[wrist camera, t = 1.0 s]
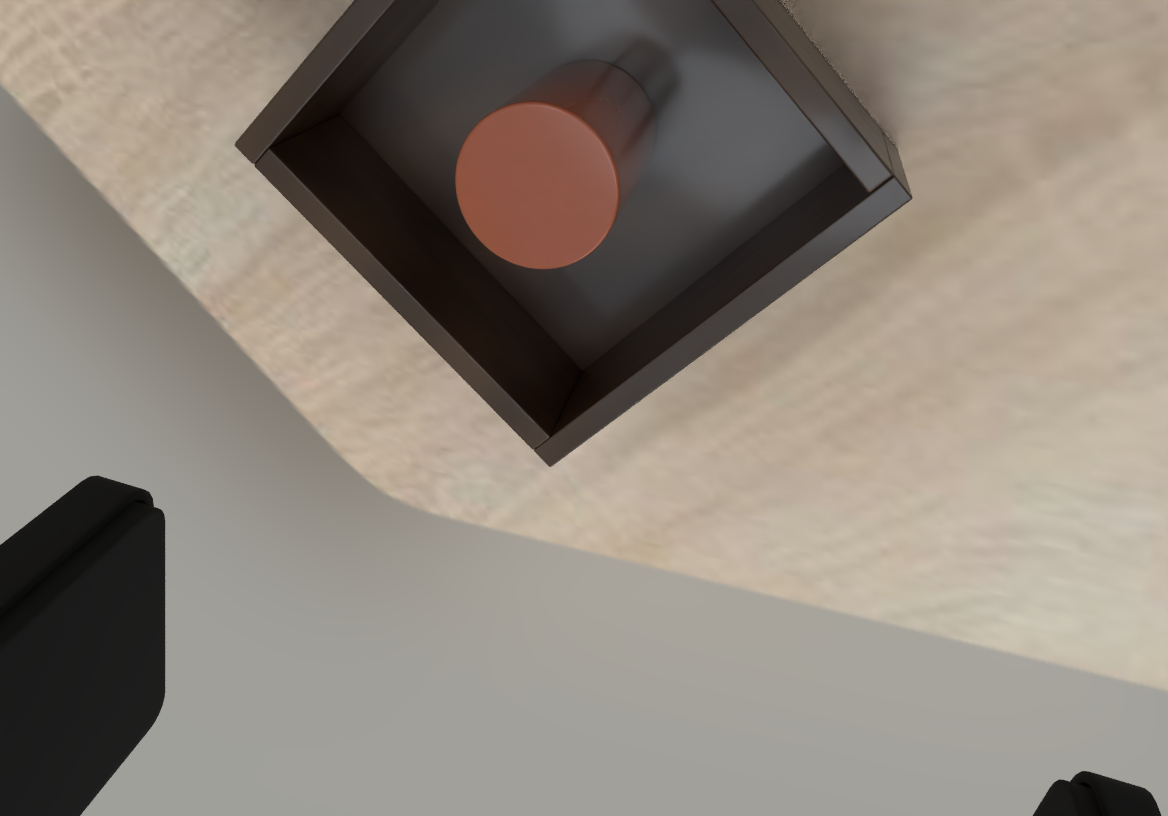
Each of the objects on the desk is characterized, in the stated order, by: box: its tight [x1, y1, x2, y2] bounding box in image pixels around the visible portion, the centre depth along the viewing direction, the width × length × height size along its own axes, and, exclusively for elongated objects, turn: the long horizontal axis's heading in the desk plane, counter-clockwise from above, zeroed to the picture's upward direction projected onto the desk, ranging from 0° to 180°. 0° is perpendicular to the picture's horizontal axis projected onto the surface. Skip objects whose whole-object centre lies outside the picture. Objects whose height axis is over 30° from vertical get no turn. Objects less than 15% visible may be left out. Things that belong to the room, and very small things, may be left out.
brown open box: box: [235, 0, 912, 467], centre depth 30 cm, size 14×14×6 cm
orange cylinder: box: [455, 60, 657, 269], centre depth 29 cm, size 4×4×7 cm
